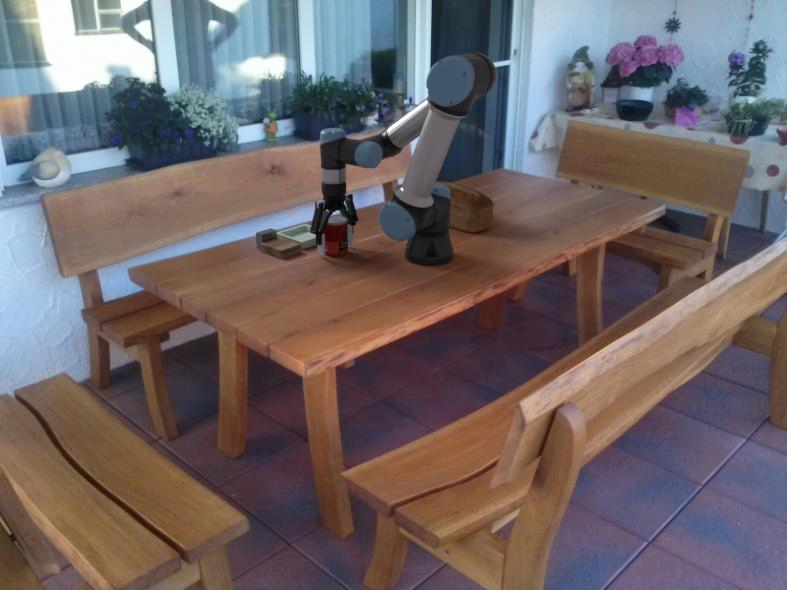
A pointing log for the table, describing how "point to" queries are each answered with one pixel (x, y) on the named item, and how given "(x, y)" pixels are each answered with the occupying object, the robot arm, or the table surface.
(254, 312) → the table surface
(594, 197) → the table surface
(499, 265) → the table surface
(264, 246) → the tan block
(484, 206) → the bread
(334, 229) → the canned food
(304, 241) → the tray
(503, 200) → the table surface
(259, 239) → the bench dog
